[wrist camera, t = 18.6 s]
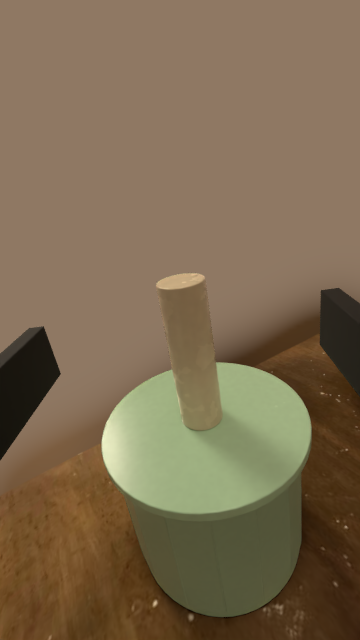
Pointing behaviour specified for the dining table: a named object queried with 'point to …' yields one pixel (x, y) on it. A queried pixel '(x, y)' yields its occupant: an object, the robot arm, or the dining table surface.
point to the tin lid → (204, 424)
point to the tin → (223, 555)
